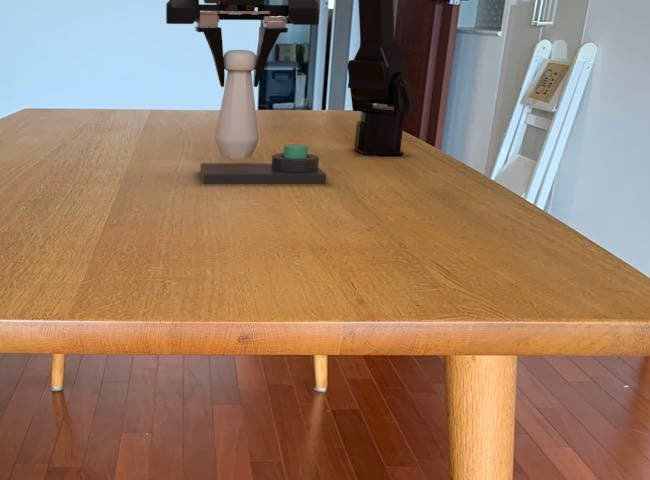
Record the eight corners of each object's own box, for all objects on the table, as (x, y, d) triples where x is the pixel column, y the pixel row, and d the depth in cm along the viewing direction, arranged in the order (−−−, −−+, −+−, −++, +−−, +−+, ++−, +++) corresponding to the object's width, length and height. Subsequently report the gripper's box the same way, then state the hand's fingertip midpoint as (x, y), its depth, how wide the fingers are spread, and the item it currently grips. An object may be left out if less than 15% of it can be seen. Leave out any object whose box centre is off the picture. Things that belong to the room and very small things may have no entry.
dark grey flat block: (313, 173, 113) (315, 151, 112) (325, 184, 106) (327, 161, 105) (200, 173, 113) (200, 151, 111) (204, 184, 106) (204, 161, 104)
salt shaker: (259, 159, 106) (265, 51, 100) (215, 159, 105) (219, 50, 100) (254, 152, 111) (260, 49, 105) (213, 152, 111) (216, 48, 105)
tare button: (304, 157, 110) (305, 143, 109) (309, 161, 107) (310, 147, 106) (281, 157, 110) (282, 143, 109) (285, 161, 107) (286, 147, 106)
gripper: (308, -47, 105) (299, 81, 112) (164, -49, 104) (165, 81, 111) (324, -53, 95) (314, 89, 102) (166, -55, 94) (167, 88, 101)
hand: (238, 86), depth 104 cm, fingers closed on salt shaker, 4 cm apart
